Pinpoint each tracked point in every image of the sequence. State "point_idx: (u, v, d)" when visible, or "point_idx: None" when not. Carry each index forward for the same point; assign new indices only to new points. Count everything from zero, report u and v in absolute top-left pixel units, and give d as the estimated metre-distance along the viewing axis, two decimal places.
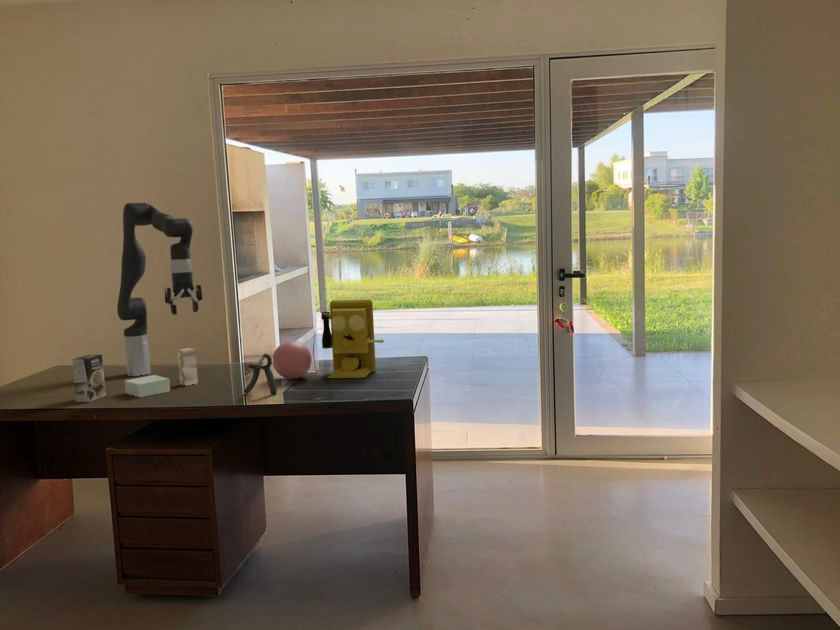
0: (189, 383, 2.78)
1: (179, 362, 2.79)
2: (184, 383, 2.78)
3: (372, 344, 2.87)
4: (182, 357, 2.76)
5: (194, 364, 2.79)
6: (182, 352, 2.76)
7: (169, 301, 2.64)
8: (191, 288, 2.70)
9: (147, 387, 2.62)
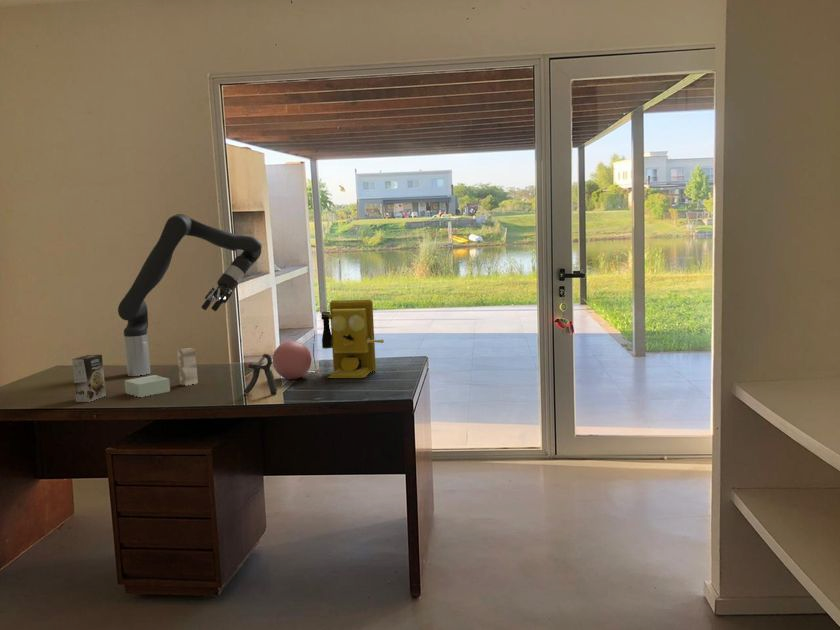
0: (189, 383, 2.78)
1: (179, 362, 2.79)
2: (184, 383, 2.78)
3: (372, 344, 2.87)
4: (182, 357, 2.76)
5: (194, 364, 2.79)
6: (182, 352, 2.76)
7: None
8: None
9: (147, 387, 2.62)
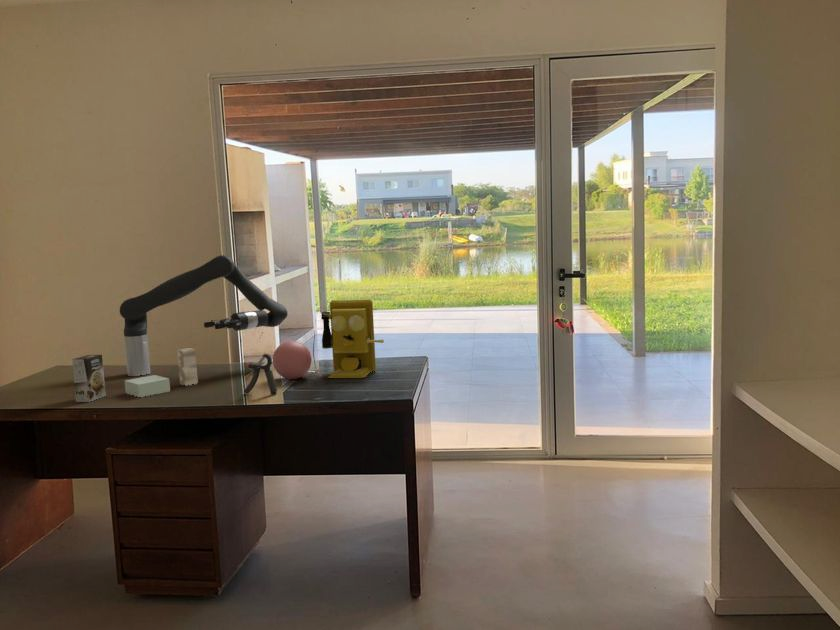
0: (189, 383, 2.78)
1: (179, 362, 2.79)
2: (184, 383, 2.78)
3: (372, 344, 2.87)
4: (182, 357, 2.76)
5: (194, 364, 2.79)
6: (182, 352, 2.76)
7: None
8: None
9: (147, 387, 2.62)
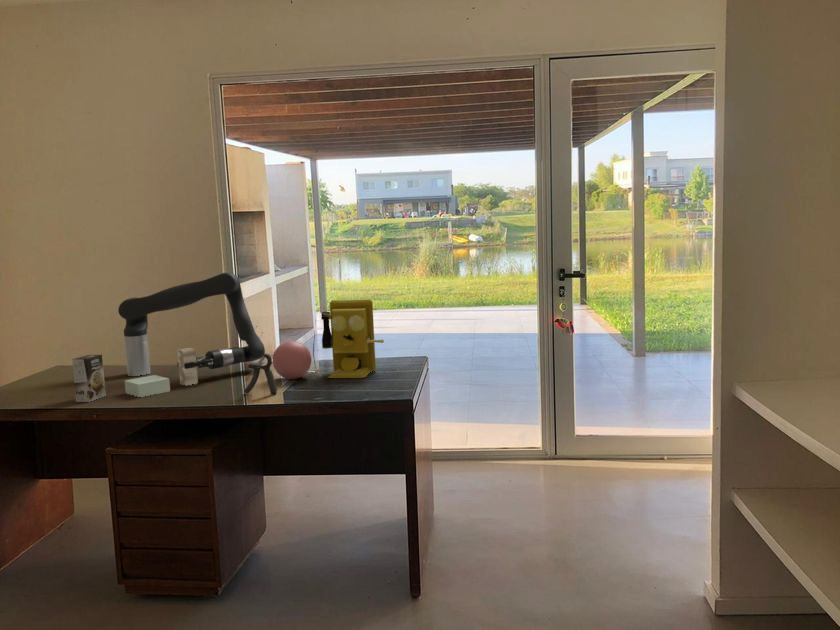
0: (189, 383, 2.78)
1: (179, 362, 2.78)
2: (184, 383, 2.78)
3: (372, 344, 2.87)
4: (182, 357, 2.76)
5: None
6: (182, 352, 2.76)
7: None
8: None
9: (147, 387, 2.62)
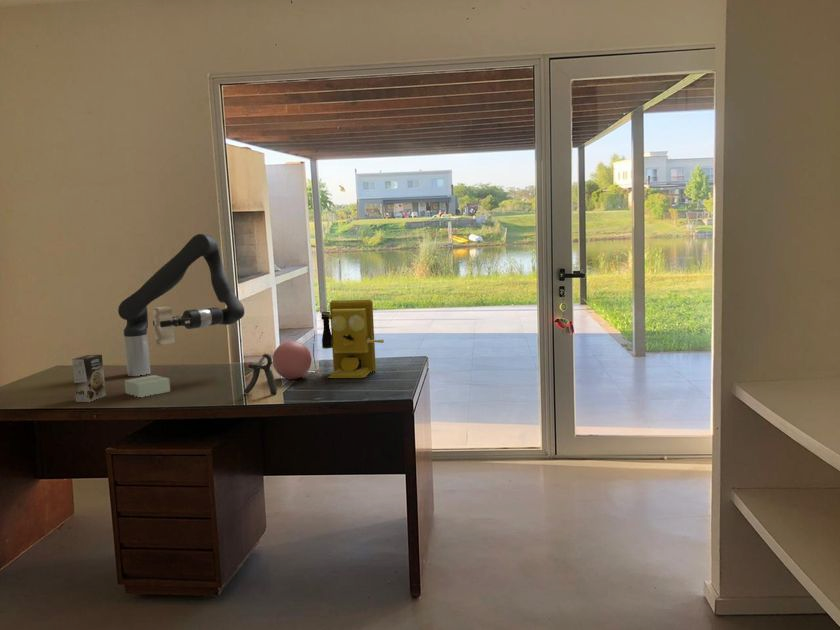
0: (165, 342, 2.70)
1: (155, 320, 2.70)
2: (160, 342, 2.70)
3: (372, 344, 2.87)
4: (158, 315, 2.68)
5: None
6: (158, 310, 2.68)
7: (176, 326, 2.70)
8: None
9: (147, 387, 2.62)
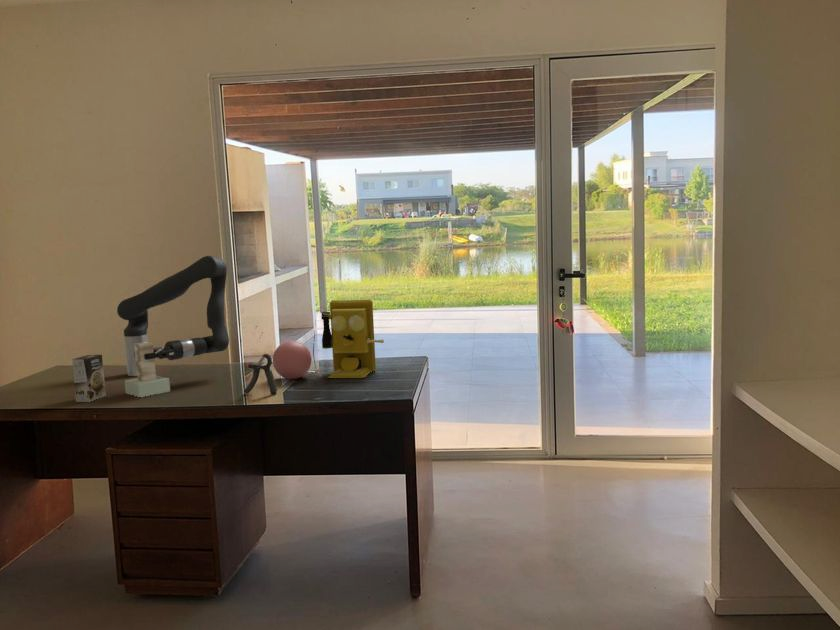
0: (146, 378, 2.65)
1: (136, 356, 2.66)
2: (141, 378, 2.65)
3: (372, 344, 2.87)
4: (139, 351, 2.64)
5: None
6: (139, 346, 2.63)
7: None
8: None
9: (147, 387, 2.62)
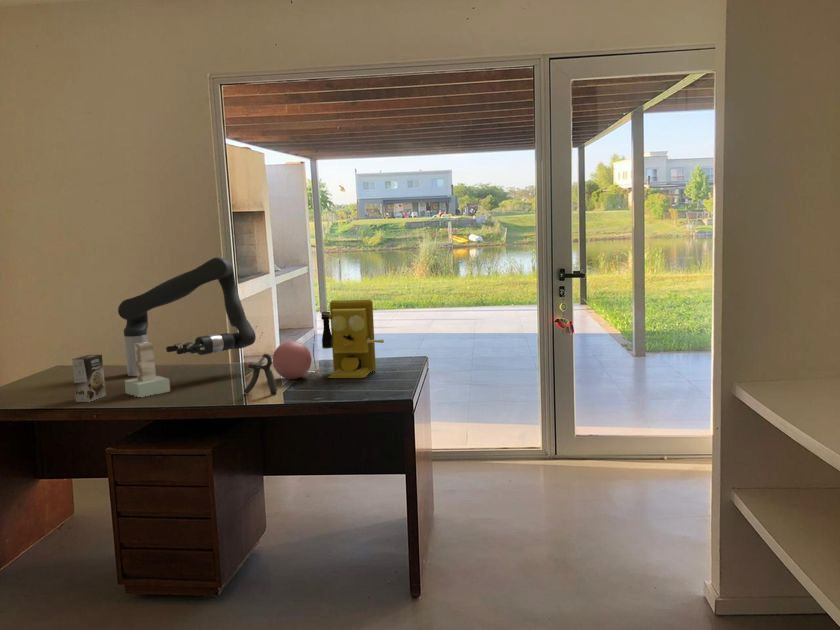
0: (146, 378, 2.65)
1: (136, 356, 2.66)
2: (141, 378, 2.65)
3: (372, 344, 2.87)
4: (139, 351, 2.64)
5: (152, 359, 2.66)
6: (139, 346, 2.63)
7: None
8: None
9: (147, 387, 2.62)
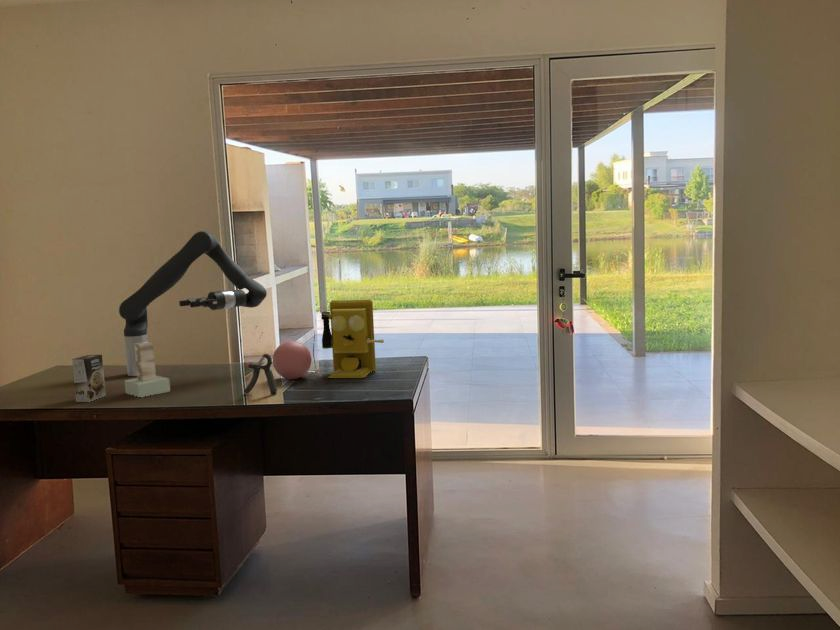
0: (146, 378, 2.65)
1: (136, 356, 2.66)
2: (141, 378, 2.65)
3: (372, 344, 2.87)
4: (139, 351, 2.64)
5: (152, 359, 2.66)
6: (139, 346, 2.63)
7: (205, 306, 2.77)
8: None
9: (147, 387, 2.62)
